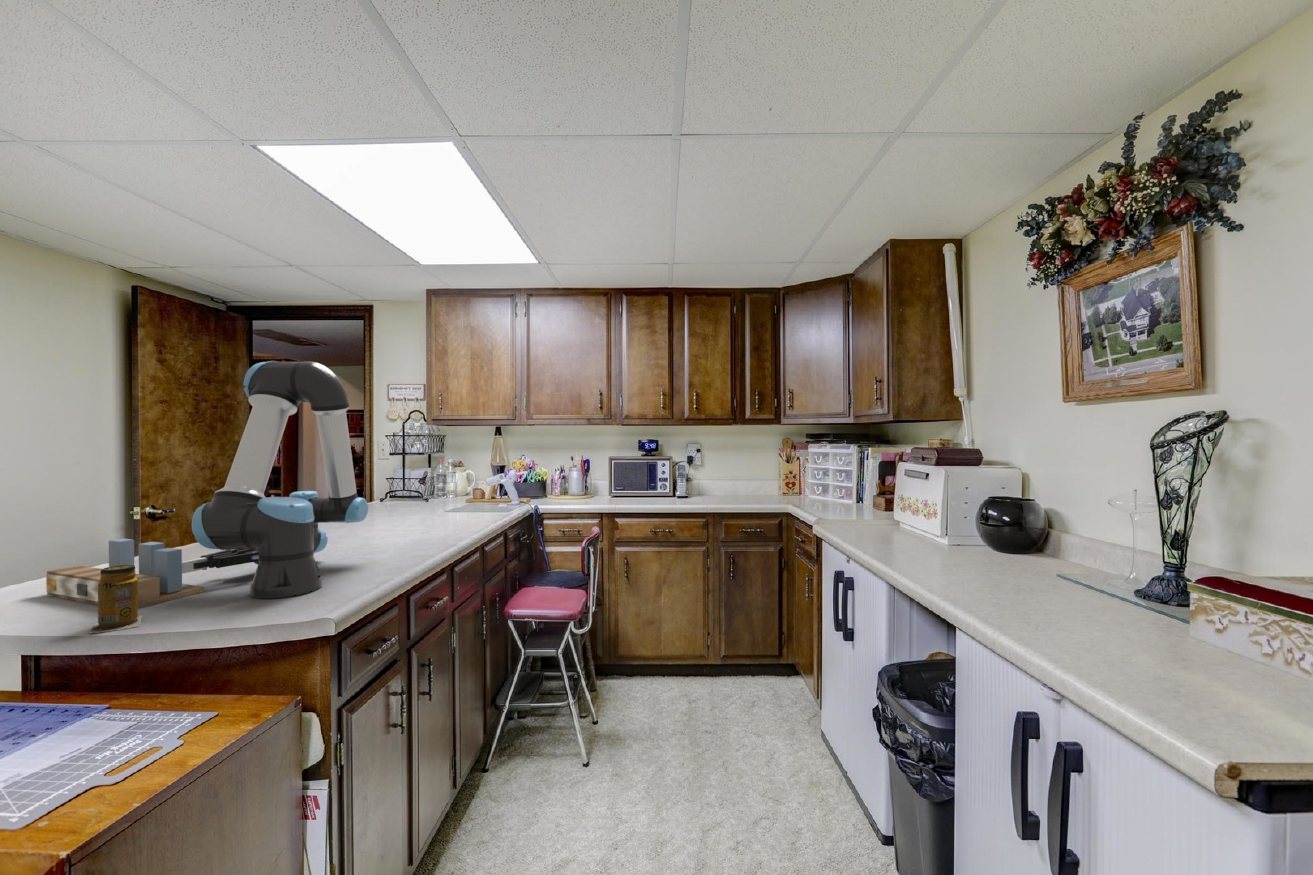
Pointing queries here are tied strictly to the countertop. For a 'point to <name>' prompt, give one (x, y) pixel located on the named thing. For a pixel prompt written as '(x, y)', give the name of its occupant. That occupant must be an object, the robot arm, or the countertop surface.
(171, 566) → the key
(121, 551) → the key
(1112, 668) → the countertop surface
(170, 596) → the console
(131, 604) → the condiment
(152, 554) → the key middle
